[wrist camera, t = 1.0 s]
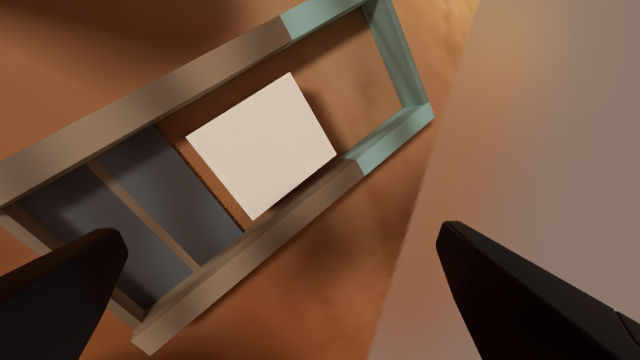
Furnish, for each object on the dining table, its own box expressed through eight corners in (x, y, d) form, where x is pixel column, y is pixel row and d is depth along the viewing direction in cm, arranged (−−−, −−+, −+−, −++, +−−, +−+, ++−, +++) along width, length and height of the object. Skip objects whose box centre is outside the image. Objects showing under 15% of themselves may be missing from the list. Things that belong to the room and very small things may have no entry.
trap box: (154, 328, 17) (150, 356, 15) (-21, 184, 13) (-64, 194, 11) (412, 119, 25) (434, 117, 23) (357, -18, 20) (377, -36, 18)
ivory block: (242, 207, 19) (252, 220, 16) (185, 137, 17) (185, 136, 14) (314, 152, 21) (336, 154, 18) (272, 82, 19) (289, 71, 16)
